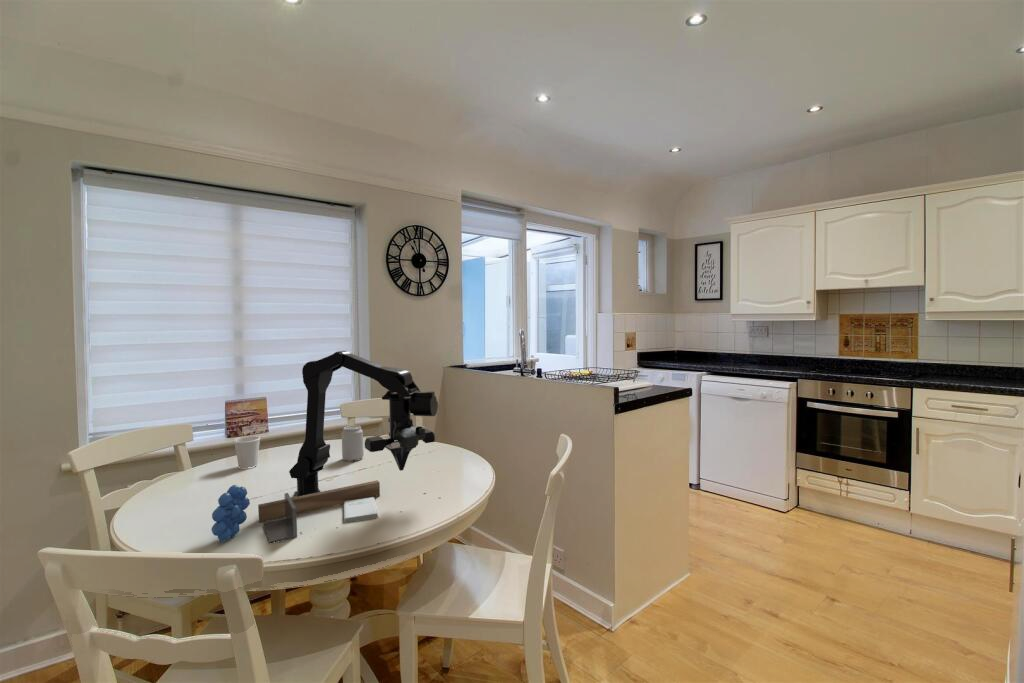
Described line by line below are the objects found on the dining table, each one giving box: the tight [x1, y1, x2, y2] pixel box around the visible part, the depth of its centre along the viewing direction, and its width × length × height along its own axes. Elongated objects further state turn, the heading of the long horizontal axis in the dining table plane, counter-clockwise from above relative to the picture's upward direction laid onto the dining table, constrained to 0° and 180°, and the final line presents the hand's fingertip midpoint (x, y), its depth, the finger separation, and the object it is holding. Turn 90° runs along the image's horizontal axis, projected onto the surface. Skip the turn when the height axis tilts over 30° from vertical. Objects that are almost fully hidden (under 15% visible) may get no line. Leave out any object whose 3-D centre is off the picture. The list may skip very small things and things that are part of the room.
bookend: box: [262, 492, 298, 544], centre depth 114 cm, size 12×6×7 cm, turn 34°
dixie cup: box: [233, 435, 261, 468], centre depth 166 cm, size 8×8×10 cm
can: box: [341, 425, 365, 462], centre depth 174 cm, size 8×8×12 cm
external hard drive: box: [343, 497, 379, 523], centre depth 126 cm, size 2×8×12 cm
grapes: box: [211, 484, 251, 543], centre depth 112 cm, size 12×7×12 cm, turn 175°
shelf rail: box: [257, 480, 381, 523], centre depth 129 cm, size 2×31×4 cm, turn 124°
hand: (401, 470), depth 133 cm, fingers closed
